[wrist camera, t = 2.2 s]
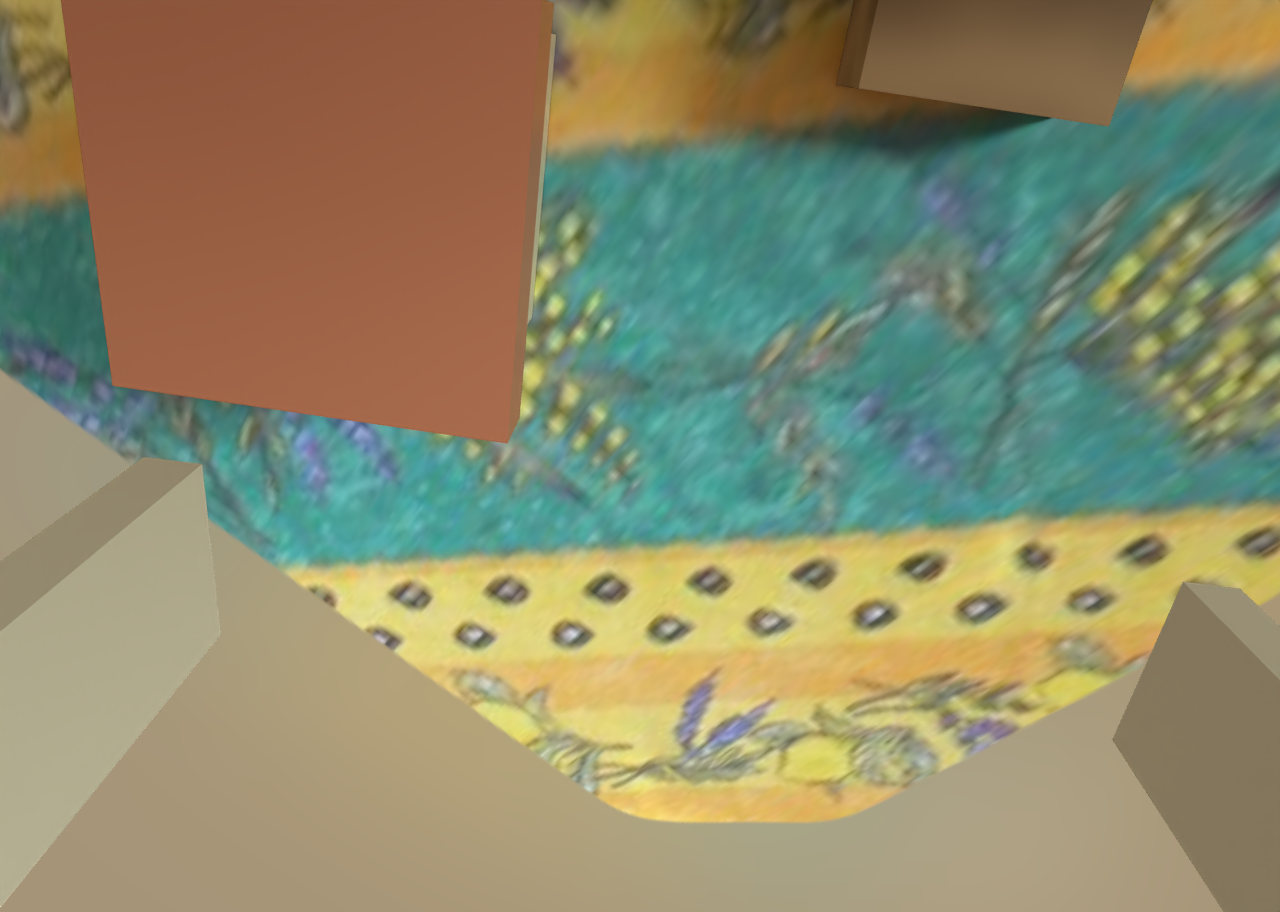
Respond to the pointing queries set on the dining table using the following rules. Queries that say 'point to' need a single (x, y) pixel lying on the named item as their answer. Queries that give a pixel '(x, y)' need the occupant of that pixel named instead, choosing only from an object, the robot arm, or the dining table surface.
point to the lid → (316, 200)
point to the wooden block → (997, 53)
